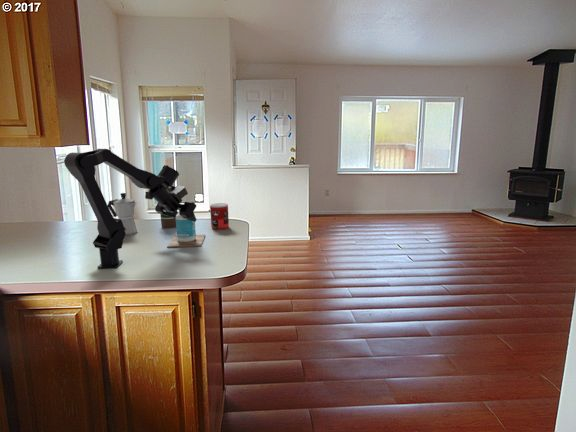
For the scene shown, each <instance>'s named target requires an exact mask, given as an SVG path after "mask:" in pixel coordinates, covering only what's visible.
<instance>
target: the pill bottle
mask: <svg viewBox="0 0 576 432" xmlns="http://www.w3.org/2000/svg"><path fill="white" fill-rule="evenodd" d="M179 211H180V210H178V214H177V215H176V227H175V228H176V236H177V240H178V241H179V242H191V241H194V240H195V239H196V235H197V234H196V231H197V230H196V222H194V221H191V220H188V219H185V218H183V217H182V216H181V215H180V214H179Z"/></svg>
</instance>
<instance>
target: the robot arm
mask: <svg viewBox="0 0 576 432" xmlns="http://www.w3.org/2000/svg"><path fill="white" fill-rule="evenodd" d="M63 163H64V166H65V167H66V169H67V171H68V172H69V173H70V174H71V175H72V177H73V178H75V180H77V181H78V182H79V184H80V186H81V188H82V190H83V192H84V195H85V197H86V199H87V201H88V203H89V206H90V208H91V209H92V211H93V214H94V216H95V218H96V221H97V232H98V234H97V236H96V237H95V239H94V240H93V242H92V244H93V246H94V248H95V249H98V251H99V258H100V264H99V265H98V266H97V269H113V268H114V269H115V268H116V269H117V268H119V266H120V265H121V264H122V263H123V261H124V260H123V259H120V257H119V250H120V249H122V247H123V244H124V239H125V237H127V235H126V233H125V230H126V229H125V228H124V226H123V223H122V220H121V219H118V218H117V217H114V215H113V214H112V212H111V211H110V209H109V207H108V202H106V201H107V200H106V199H105V197H104V195H103V192H102V190H101V188H100V186H99V184H98V181H97V179H96V166H100V165H101V164H105V165H107V166H109V167H111V168H112V169H114V170H115V171H117V172H119V173H120V174H122V175H124V176H125V177H127V178H128V179H129V180H130V181H131V183H132V184H134V185H135V186H136V187H137V188H139V189H145V190H148V191H145V195H144V197H145V199H146V200H151V201H152V200H153V199H154V200H155V201H156V202H157V203H156V206H155V207H154V209H155V210H154V211H155V212H156V213H158V214H163V215H166V216H170V217H173V218H176V215H177V214H178V213H179V214H180V215H181V216H182V217H183V218H185V219H188V220H191V221H194V222H195V223H196V222H197V218H196V217H197V216H196V215H195V212H194V211H195V210H196V208H197V204H196V203H195V202H193V201H184V203H183V204H182V202H183V198H185V196H187V195H188V194H189V192H188V190H187V189H186V187H185V186H183V185H174V183H175V182H176V181H177V179H178V178H179V176H180V172H179V171H178V170H176V169H175V168H173V167H170V166H169V165H166V164H164V165H163V166H162V167H161V170H160V172H159V173H158V175H157V174H155V173H153V172H150V171H147V170H145V169H141V168H138V167H136V166H135V165H133V164H132V163H130V162H128V161H127V160H125V159H123V158H122V157H120V156H119V155H117V154H116V153H114V152H112V150H110V149H108V148H97V149H95V150H91V151H90V150H89V151H85V152H84V151H83V152H70V153H67V155H66V156H65V158H64V160H63ZM165 187H166V188H168V187H169V191H168V190H167V189H166V188H165ZM176 210H177V211H176ZM179 210H180V211H179ZM177 212H178V213H177Z"/></svg>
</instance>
